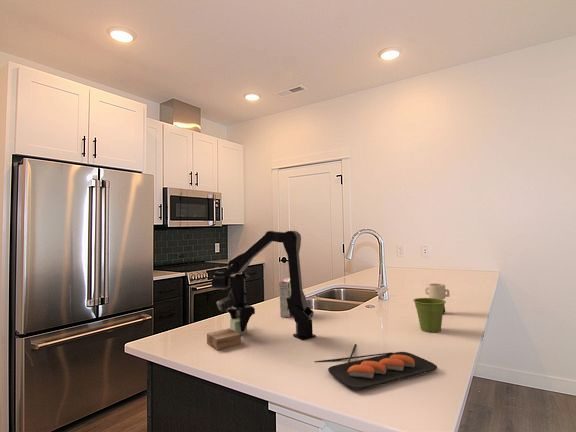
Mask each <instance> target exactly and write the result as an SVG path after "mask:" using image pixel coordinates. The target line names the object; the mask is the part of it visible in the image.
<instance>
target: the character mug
mask: <svg viewBox="0 0 576 432" xmlns="http://www.w3.org/2000/svg"><path fill="white" fill-rule="evenodd" d="M427 285H428V286H426V287H425V288H424V290H425V295H428V298H435V299H441V300H445V299H446V298H448V297H450V296H451V294H450V289H447V288H446V285H445V284H444V283H429V284H427ZM443 313H446V307H445V305H444V309H443Z"/></svg>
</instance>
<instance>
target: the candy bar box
mask: <svg viewBox="0 0 576 432" xmlns="http://www.w3.org/2000/svg"><path fill="white" fill-rule="evenodd" d="M278 284H279V285H278V287H279V308H280V312H279V313H280V318H291V317H293V316H292V315H291V314H290V313H289V309H288V310H287V307H288V304H287V298H288V297H289V296H291V285H290V277H289V278H288V277H287V278H283V279H281V281H279V282H278Z"/></svg>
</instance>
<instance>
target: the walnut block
mask: <svg viewBox="0 0 576 432" xmlns="http://www.w3.org/2000/svg"><path fill="white" fill-rule="evenodd" d="M241 335H242V334H239V333H237V332H235V331H233V330H232V329H230V328H226V329H222V330H216V331H212V332H211V331H210V332H207V333H206V345H208V346H210V347H211V348H213V349H214V350H216V351H221V350H225V349H229V348H233V347H238V346H241V345H242V343H241V342H242V338H241Z"/></svg>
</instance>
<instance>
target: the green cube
mask: <svg viewBox="0 0 576 432" xmlns="http://www.w3.org/2000/svg"><path fill="white" fill-rule="evenodd" d="M229 321H230V322H229V323H230V328H229V329H232V330H233V331H235V332H237V333H239V334H241V335H243V334H247V333H248V325H247V326H246V328H245V330H244V331H243V332H242V331H241V328H240V321H239V318H236V319H231V318H230V320H229Z"/></svg>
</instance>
